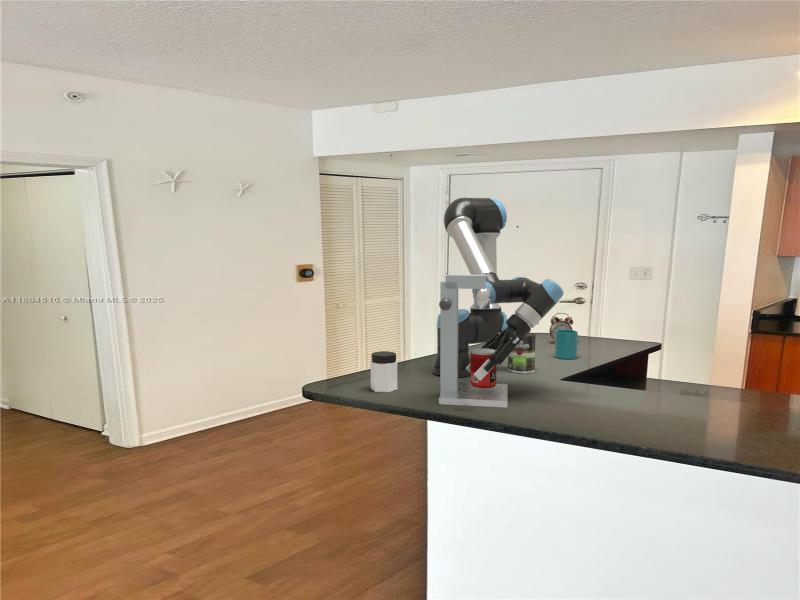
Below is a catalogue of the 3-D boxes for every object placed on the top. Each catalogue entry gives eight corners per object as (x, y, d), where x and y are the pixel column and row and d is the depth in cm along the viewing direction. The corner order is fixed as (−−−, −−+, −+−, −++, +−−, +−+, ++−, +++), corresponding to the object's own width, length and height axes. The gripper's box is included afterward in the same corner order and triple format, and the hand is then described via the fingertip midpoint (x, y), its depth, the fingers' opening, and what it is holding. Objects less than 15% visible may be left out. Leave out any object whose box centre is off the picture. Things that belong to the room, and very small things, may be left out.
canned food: (496, 389, 163) (496, 353, 162) (469, 388, 164) (469, 352, 163) (496, 382, 170) (496, 348, 169) (471, 381, 172) (471, 347, 171)
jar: (400, 391, 175) (400, 355, 174) (376, 393, 172) (376, 356, 171) (391, 385, 184) (391, 350, 182) (368, 387, 181) (368, 351, 180)
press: (445, 387, 180) (445, 273, 176) (507, 390, 176) (509, 273, 172) (435, 406, 158) (435, 277, 154) (507, 410, 154) (509, 277, 150)
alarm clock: (549, 344, 259) (550, 313, 258) (548, 342, 264) (549, 312, 263) (573, 344, 258) (574, 313, 256) (571, 343, 262) (572, 312, 261)
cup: (586, 357, 228) (586, 331, 227) (567, 360, 222) (568, 333, 220) (568, 353, 236) (569, 328, 235) (550, 357, 229) (550, 330, 228)
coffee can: (533, 374, 198) (533, 336, 196) (505, 372, 201) (505, 334, 200) (537, 368, 207) (537, 332, 206) (510, 366, 211) (510, 331, 210)
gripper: (545, 334, 158) (492, 391, 157) (518, 324, 178) (470, 375, 177) (528, 316, 157) (474, 374, 156) (502, 309, 177) (455, 359, 176)
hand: (472, 374), depth 166 cm, fingers closed on canned food, 8 cm apart
